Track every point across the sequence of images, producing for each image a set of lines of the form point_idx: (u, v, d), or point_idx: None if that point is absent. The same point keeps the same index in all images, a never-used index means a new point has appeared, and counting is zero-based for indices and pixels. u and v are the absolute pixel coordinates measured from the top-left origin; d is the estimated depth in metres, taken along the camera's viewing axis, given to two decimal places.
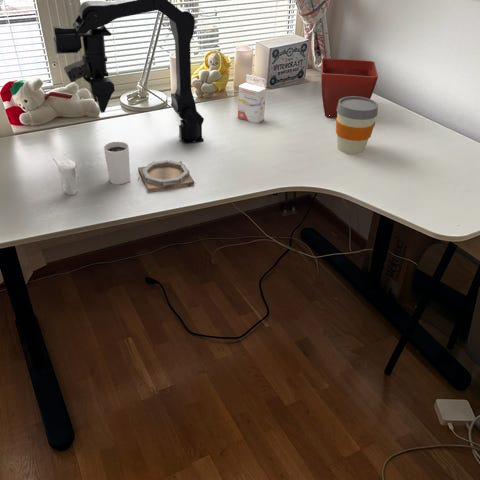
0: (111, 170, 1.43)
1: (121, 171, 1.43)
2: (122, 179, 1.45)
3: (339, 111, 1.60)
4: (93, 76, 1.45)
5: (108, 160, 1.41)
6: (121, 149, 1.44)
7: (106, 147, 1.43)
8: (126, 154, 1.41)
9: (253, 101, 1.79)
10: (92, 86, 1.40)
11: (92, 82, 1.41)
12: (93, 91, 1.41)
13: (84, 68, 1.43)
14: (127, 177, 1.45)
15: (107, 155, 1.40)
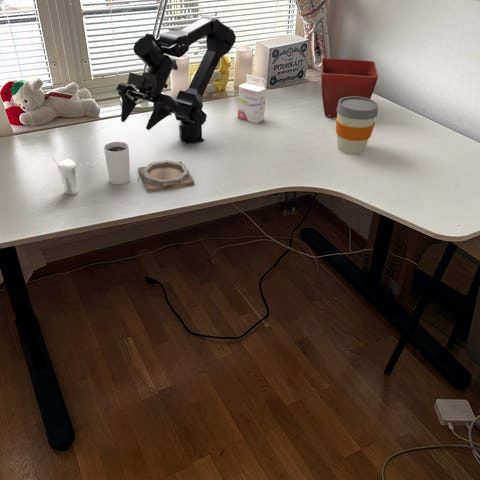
0: (111, 170, 1.43)
1: (121, 171, 1.43)
2: (122, 179, 1.45)
3: (339, 111, 1.60)
4: (153, 93, 1.44)
5: (108, 160, 1.41)
6: (121, 149, 1.44)
7: (106, 147, 1.43)
8: (126, 154, 1.41)
9: (253, 101, 1.79)
10: (168, 98, 1.40)
11: (166, 95, 1.40)
12: (167, 103, 1.40)
13: None
14: (127, 177, 1.45)
15: (107, 155, 1.40)
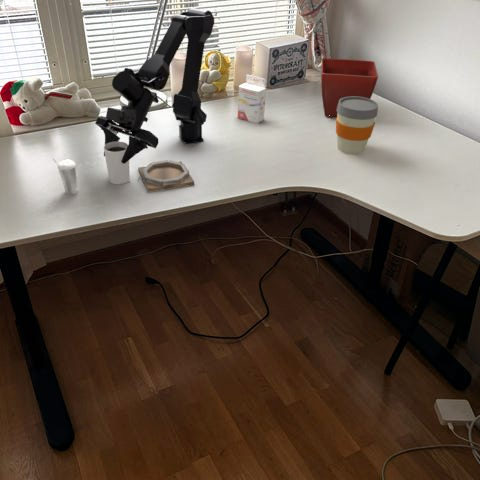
0: (111, 170, 1.43)
1: (121, 171, 1.43)
2: (122, 179, 1.45)
3: (339, 111, 1.60)
4: (133, 128, 1.41)
5: (108, 160, 1.41)
6: (121, 149, 1.44)
7: (106, 147, 1.43)
8: None
9: (253, 101, 1.79)
10: (147, 133, 1.37)
11: (145, 130, 1.38)
12: (146, 138, 1.37)
13: None
14: (127, 177, 1.45)
15: (107, 155, 1.40)
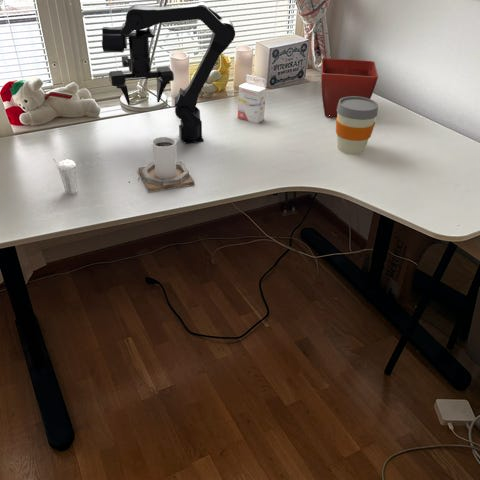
0: (162, 166, 1.44)
1: (172, 165, 1.45)
2: (172, 173, 1.46)
3: (339, 111, 1.60)
4: None
5: (160, 156, 1.42)
6: (166, 144, 1.45)
7: (152, 144, 1.43)
8: (175, 147, 1.43)
9: (253, 101, 1.79)
10: None
11: None
12: None
13: None
14: (175, 170, 1.47)
15: (159, 151, 1.41)
